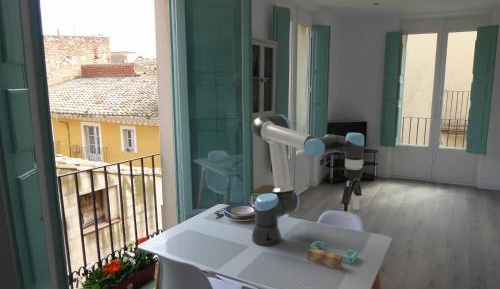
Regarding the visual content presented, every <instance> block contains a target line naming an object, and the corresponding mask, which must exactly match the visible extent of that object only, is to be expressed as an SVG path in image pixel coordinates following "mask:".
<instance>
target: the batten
mask: <svg viewBox="0 0 500 289" xmlns="http://www.w3.org/2000/svg"><path fill="white" fill-rule="evenodd" d="M306 255H307V257H306V258H307V261H311V262H314V263H317V264H319V265H323V266H326V267H329V268H332V269H335V270H339V269H340V268H341V267H342V266H343V265H342V263H343V262H342V255H339V254H337V253H336V254H335V253H332V252H329V251H325V250H323V249H320V248H318V249H316V248H312V247H311V248H309V247H308V249H307V254H306Z"/></svg>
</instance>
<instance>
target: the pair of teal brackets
mask: <svg viewBox="0 0 500 289" xmlns="http://www.w3.org/2000/svg"><path fill="white" fill-rule="evenodd" d="M311 247H312V248H316V249H321V250H324V249H325V242H322V241H320V240H315V241H314V242H312V243H311V244H310V245H309V247H308V249H309V248H311ZM346 252H347V253H346V255H344V254H342V255H341V256H342V263H345V264H348V265H352V264H353V263H354V262H355V260H357V259H358V251H355V250H352V249H350V248H349V249H347V251H346Z"/></svg>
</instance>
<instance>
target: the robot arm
mask: <svg viewBox="0 0 500 289" xmlns="http://www.w3.org/2000/svg"><path fill="white" fill-rule="evenodd" d="M251 130H252V133H253V134H254V136H255V137H257V138H259V139H261V140H264V141H266V142H267V143H268V144H269V145H268V146H269V152H270V159H271V168H272V175H273V183H274V185H273V186H274V188H273V189H272V193H270V192H269V193H262V194H260V195H257V197H256V199H255V204H254V209H255V210H254V212H255V214H254V216H255V226H254V228H253V232H252V233H251V234H252V235H251V240H252V242H253V243H254V244H256V245H259V246H275V245H277V244H279V243H280V242H281V241H282V235H281V231H280V228H279V218H280V217H283V216H286V215H290V214H292V213H293V212H296V211H297V210H298V208H299V206H300V203H301V200H300V196H299V194H298V193H297V192H296V191H295V188H294V187H293V186H291V185H292V184H291V179H290V171H289V162H288V154H287V146H288V147H290V148H294V149H298V150H301V151H304V152H305V153H306V155H307V156H308V157H309V156H310V157H318V156H322V155H327V154H331V153H341V154H344V155H345V157H344V176H345V177H346V178H347V180H345V182H344V188H343V193H342V198H341V202H340V204H342V218H343V219H345V220H346V219H347V220H349V219H350V210H351V205H350V202H351V198H352V197H353V198H352V209H353V210H357V211H359V209H360V198H361V196H362V195H363V194H362V186H361V185H362V184H361V178H362V177H363V164H364V163H365V162H364V149H365V148H364V146H365V135H364V134H363V133H360V132H348V133H346V136H343V135H336V134H332V133H331V134H324V136H322V137H318V136H314V135H310V134H308V133H304V132H301V131H298V130H295V129H294V130H293V129H291V123H290V120H289V118H288V117H287V116H286V115H284V114H277V113H276V114H266V115H265V114H263V115H259V116H258V117H256V118H254V120H253V122H252V124H251Z"/></svg>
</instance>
